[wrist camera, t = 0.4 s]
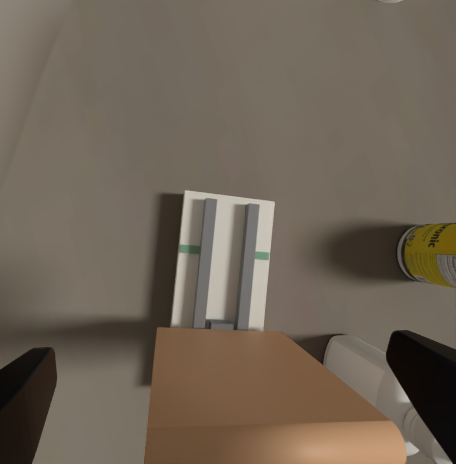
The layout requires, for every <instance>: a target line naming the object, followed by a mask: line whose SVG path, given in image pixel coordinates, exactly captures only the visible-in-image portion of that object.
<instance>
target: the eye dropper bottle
mask: <svg viewBox="0 0 456 464" xmlns="http://www.w3.org/2000/svg"><path fill="white" fill-rule="evenodd" d="M323 366H325V367H326V368H327V369H328V370H330V371H331V372H332V373H333V374H334V375H336V376H337V377H338V378H339V379H341V380H342V381H343V382H344V383H346V384H347V385H348V386H349V387H351V388H352V389H353V390H354V391H355V392H357V393H358V394H359V395H360V396H362V397H363V398H364V399H365V400H367V401H368V402H369V403H370V404H371V405H373V406H374V407H375V408H376V409H378V410H379V411H380V412H381V413H383V414H384V415H385V416H386V417H387V418H389V419H390V420H391V421H392V422H393V423H394V424H395V425H396V426H397V428H398V429H399V431H400V433H401V435H402V437H403V439H404V443H405V447H406V456H409V455H413V454H415V453H417V452H418V451H419V450H420V451H421V452H422V453H423V454H425V455H426V456H427V457H428V458H429V459H431V460H432V461H433V462H434V463H435V464H453V463H452V462H451V460H450V459H449V458H448V456H447V455H446V453H445V452H444V451H443V449H442V448H441V446H440V445H439V443H438V442H437V441H436V439H435V438H434V436H433V435H432V434H431V432H430V431H429V429H428V428H427V427H426V425H425V424H424V422H423V421H422V419H421V418H420V416H419V415H418V413H417V412H416V410H415V408H414V407H413V405H412V404H411V402H410V400H409V399H408V397H407V395H406V394H405V392H404V390H403V389H402V387H401V385H400V384H399V382H398V380H397V379H396V377H395V375H394V374H393V372H392V370H391V369H390V367H389V365H388V363H387V361H386V353H384V352H382V351H380V350H379V349H377V348H375V347H373V346H371V345H369V344H367V343H365V342H363V341H362V340H360V339H358V338H356V337H354V336H351V335H337V336H333V337H332V338H331V339H330V341H329V343H328V345H327V348H326V351H325V355H324V361H323Z"/></svg>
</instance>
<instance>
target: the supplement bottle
mask: <svg viewBox="0 0 456 464" xmlns="http://www.w3.org/2000/svg"><path fill="white" fill-rule="evenodd" d="M397 256H398V262H399V264H400V267H401V269H402V270H403V272H404V273H405V274H406V275H407V276H408V277H410V278H411V279H413V280H415V281H419V282H424V283H429V284H435V285H441V286H447V287H453V288H456V223H443V224H425V225H418V226H414V227H412V228H410V229H409V230H408V231H406V232H405V233H404V235H403V236H402V237H401V239H400V241H399V244H398V249H397Z"/></svg>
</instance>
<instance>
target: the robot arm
mask: <svg viewBox="0 0 456 464" xmlns="http://www.w3.org/2000/svg"><path fill="white" fill-rule="evenodd" d="M386 361H387V363H388V365H389V367H390V369H391V370H392V372H393V374H394V375H395V377H396V379H397V380H398V382H399V384H400V385H401V387H402V389H403V390H404V392H405V394H406V395H407V397H408V399H409V400H410V402H411V404H412V405H413V407H414V408H415V410H416V412H417V413H418V415H419V416H420V418H421V419H422V421H423V422H424V424H425V425H426V427H427V428H428V429H429V431H430V432H431V434H432V435H433V436H434V438H435V439H436V441H437V442H438V443H439V445H440V446H441V448H442V449H443V451H444V452H445V453H446V455H447V456H448V458H449V459H450V460H451V462H452V463H453V464H456V349H453V348H451V347H448V346H446V345H443V344H441V343H438V342H436V341H434V340H431V339H429V338H426V337H424V336H421V335H419V334H416V333H414V332H411V331H408V330H398V331H394V332H393V333H392V334H391V337H390V340H389V344H388V348H387V351H386ZM56 383H57V371H56V360H55V352H54V349H53V348H52V347H40V348H32V349H31V350H29V351H28V352H26V353H25V354H23V355H22V356H20V357H18V358H17V359H15V360H14V361H12V362H11V363H9V364H8V365H6V366H5V367H3V368H2V369H0V464H32V462H33V459H34V456H35V453H36V450H37V447H38V444H39V440H40V437H41V434H42V431H43V427H44V424H45V421H46V417H47V414H48V411H49V407H50V404H51V401H52V398H53V394H54V391H55V388H56Z"/></svg>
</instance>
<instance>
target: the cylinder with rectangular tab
mask: <svg viewBox="0 0 456 464" xmlns="http://www.w3.org/2000/svg"><path fill="white" fill-rule="evenodd" d="M378 1H380V2H386V3H395V2H399V1H403V0H378Z"/></svg>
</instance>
